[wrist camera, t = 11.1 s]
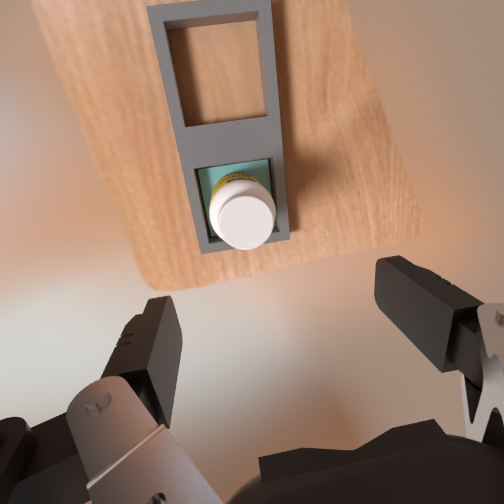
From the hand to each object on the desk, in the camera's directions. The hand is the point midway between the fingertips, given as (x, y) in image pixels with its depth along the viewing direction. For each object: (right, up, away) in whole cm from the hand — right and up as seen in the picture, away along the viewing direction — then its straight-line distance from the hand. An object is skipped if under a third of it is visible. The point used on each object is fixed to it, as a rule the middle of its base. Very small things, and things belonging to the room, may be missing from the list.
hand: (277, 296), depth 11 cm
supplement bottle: (-3, +7, +18) cm, 20 cm away
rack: (-3, +12, +16) cm, 20 cm away
